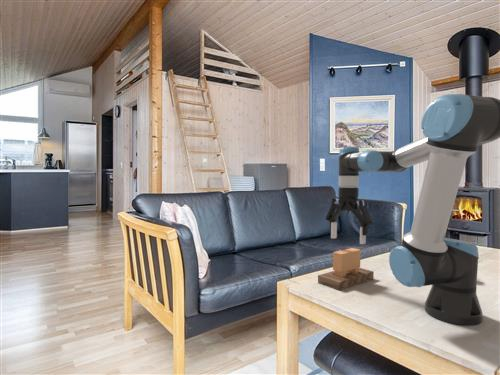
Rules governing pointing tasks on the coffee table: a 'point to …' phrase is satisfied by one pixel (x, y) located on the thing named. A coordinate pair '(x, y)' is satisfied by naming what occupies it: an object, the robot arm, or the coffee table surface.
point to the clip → (346, 261)
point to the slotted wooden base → (345, 279)
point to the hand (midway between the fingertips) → (347, 240)
